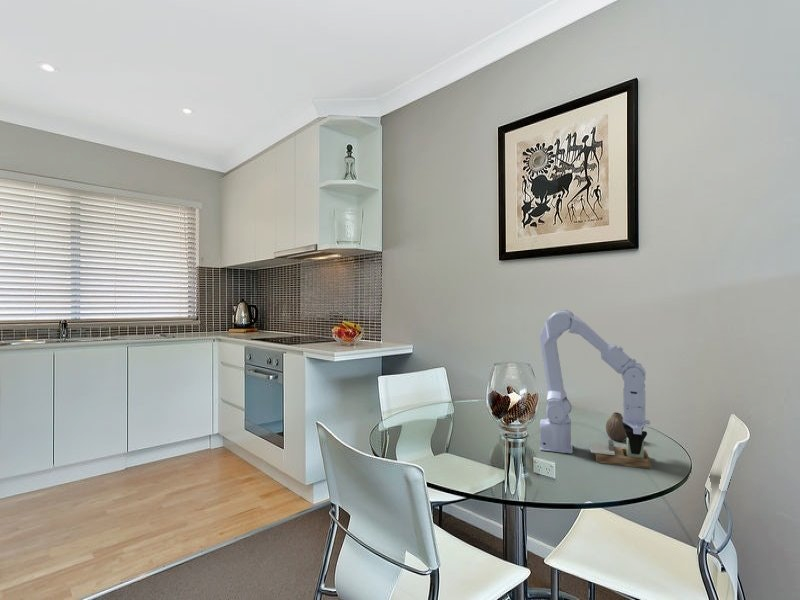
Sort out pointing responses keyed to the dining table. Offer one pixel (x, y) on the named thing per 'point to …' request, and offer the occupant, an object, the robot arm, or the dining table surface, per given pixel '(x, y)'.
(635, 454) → the block
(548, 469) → the dining table surface
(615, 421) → the vase
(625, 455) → the wooden tray
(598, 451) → the cover
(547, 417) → the robot arm
